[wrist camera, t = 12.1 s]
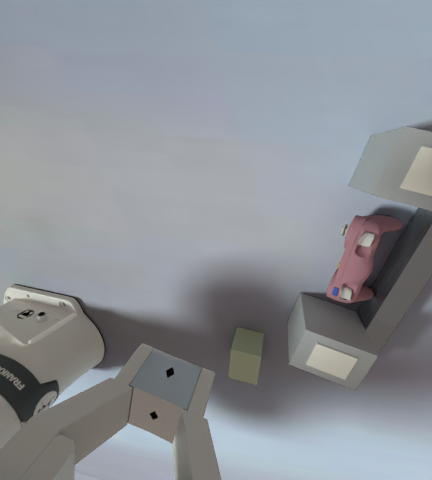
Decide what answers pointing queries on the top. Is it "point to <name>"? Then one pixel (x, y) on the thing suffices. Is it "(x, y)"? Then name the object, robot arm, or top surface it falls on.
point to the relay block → (246, 355)
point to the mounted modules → (342, 319)
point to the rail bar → (399, 280)
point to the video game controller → (359, 257)
